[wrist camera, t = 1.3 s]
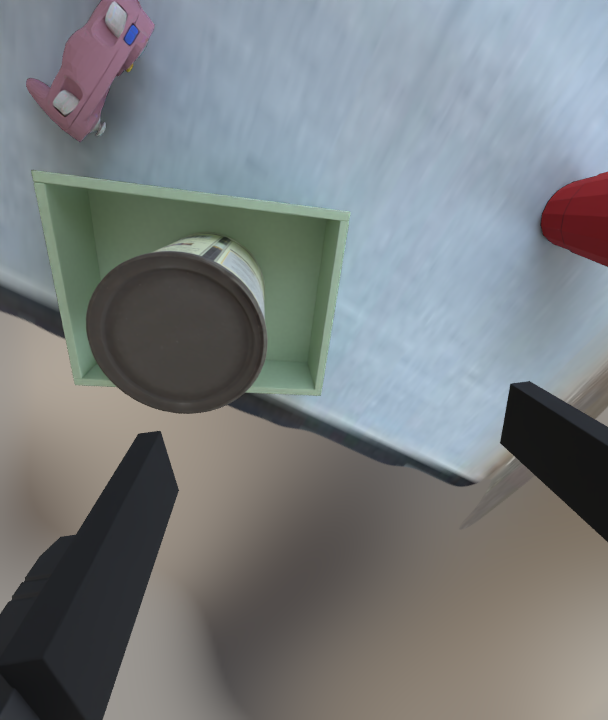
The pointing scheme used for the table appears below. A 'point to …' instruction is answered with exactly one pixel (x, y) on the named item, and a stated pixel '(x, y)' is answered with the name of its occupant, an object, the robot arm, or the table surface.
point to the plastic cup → (580, 218)
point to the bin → (176, 220)
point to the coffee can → (182, 324)
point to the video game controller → (93, 66)
